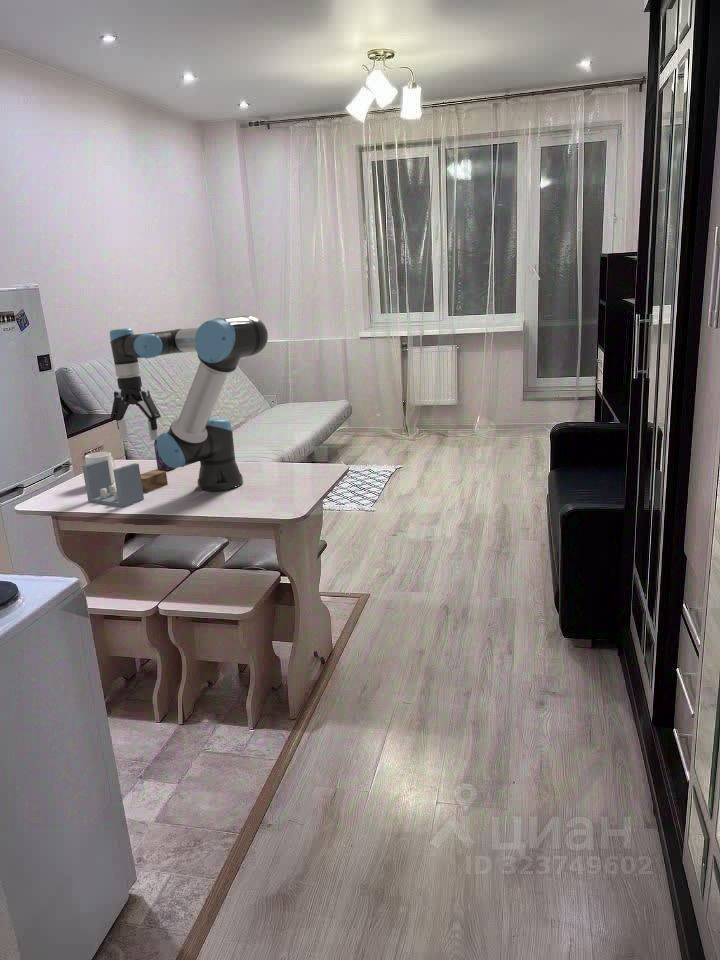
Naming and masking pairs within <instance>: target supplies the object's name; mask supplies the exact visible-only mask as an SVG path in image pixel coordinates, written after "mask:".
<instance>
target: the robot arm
mask: <svg viewBox="0 0 720 960" xmlns="http://www.w3.org/2000/svg"><path fill="white" fill-rule="evenodd" d="M268 338H269V333H268V329H267V327H266V325H265V324H264V323H263V321H262V320H261V319H259V318H258V317H255V316H252V315H240V316H233V317H226V318H223V317H217V318H213V319H210V320H206V321H204V322H203V323H201V324H200V326H198V327H191V328H190V327H187V328H177V329H171V330H165V331H155V332H153V331H152V332H146V333H145V332H144V333H137V334H135V332H134V330H133V328H131V327H127V328H126V327H125V328H124V327H123V328H116V329H110V331H109V339H110V348H111V352H112V358H113V362H114V369H115V377H117V379H116V380H117V386H118V390H116V391H113V403H112V409H111V413H110V417H111V419H114V420H115V421H116V427H117V429H118V432H119V437H120V438H119V439H120V440H125V439H129V436H128V428H127V423H126V419H125V414H126V412H127V409H128V408H129V406H130V405H135V406H136V407H138V408H139V409H140V410H141V412H143V415H145V417H146V418H147V419H148V420H147V426H148V432H149V433H148V434H149V438H150V439H149V440H150V441H155V439H157V449H158V452H159V455H160V457H161V459H162V460H163V461H164V463H165V464H166V465H168V466H169V467H171V468H174V469H177V468H184V467H186V466H189V465H192V464H195V463H198V462H200V464H199V465H200V467H199V472H198V478H197V482H196V483H197V489H199V490H200V491H205V492H220V491H222V490H223V491H227V490H226V489H229V488H233V487H235V486H238V485H240V484H242V483H243V484H244V478H243V474H242V473H241V472H240V469H239V466H238V463H237V461H236V455H235V454H236V453H235V444H234V436H233V433H234V432H233V428H232V423H231V420H230V419H227V418H224V417H223V418H222V417H211V416H212V413H213V411H214V408H215V406H216V403H217V401H218V398H219V397H220V394H221V391H222V390H223V387H224V384H225V381H226V379H227V376H228V375H229V374H231V373H234V372H235V370H237V366H238V364H239V362H240V359H242V358H245V357H251V356H255V355H257V354H259V353H260V352H261V351H262V350H264V348H265V347H266V345H267V343H268V341H269V340H268ZM191 352H192V353H193V352H196V354H197V358H198V360H199V365H198V367H197V368H196V369H197V370H196V372H195V375H194V377H193V380H192V382H191V385H190V387H189V390H188V392H187V396H186V398H185V401H184V404H183V406H182V408H181V412H180V413H179V417H177V418H174V419H173V421H172V422H171V424H170V426H169V429H168V431H167V432H162V433H160V434H159V435H158V431H157V430H158V424H157V423H158V422H157V419H160V418H161V413H160V411H159V410H158V408H157V406H156V404H155V402H154V401H153V398H152V397H151V393H150V390H149V389H147V390H146V389H145V390H142V389H141V388H142V387H143V382H142V377H141V375H140V372H141V371H140V366H139V359H151V358H152V359H153V358H156V357H159V356H165V355H170V354H171V355H172V354H181V353H191ZM243 484H242V485H243ZM240 486H241V485H240ZM238 487H239V486H238ZM233 489H234V488H233ZM229 490H230V489H229Z"/></svg>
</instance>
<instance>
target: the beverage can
mask: <svg viewBox="0 0 720 960" xmlns="http://www.w3.org/2000/svg"><path fill="white" fill-rule="evenodd" d="M153 445H154V454H155V459H156V465H157V466H156V467H157V470H159V471H171V470H173V469H175V468H171V467H169V466H168V465H166V464H165V463H164V461H163V460H162V459H161V457H160V455H159V452H158V449H157V439H155V440H154V442H153Z"/></svg>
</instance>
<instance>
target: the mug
mask: <svg viewBox="0 0 720 960" xmlns="http://www.w3.org/2000/svg"><path fill="white" fill-rule="evenodd" d="M84 457H85V458H84V459H85V465H87V464H90V463H94V462H97V461H100V460H108V466H109V472H110V478H111V484H112V485H114V483H115V478H114V472H113V470H115V469H116V463H115V458H114V457H113V456H112V453H111V452H109V451H98V452H91V453H88V454H86V455H85V456H84Z"/></svg>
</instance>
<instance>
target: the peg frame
mask: <svg viewBox="0 0 720 960" xmlns="http://www.w3.org/2000/svg"><path fill="white" fill-rule="evenodd" d="M81 468H82V474H83V478H84V484H85V490H86V495H87V501H88V502H92V503H95V504H96V503H97V504H103V505H108V506H116V507H121V508H125V507H127V506H130V505H133V504H136V503H138V502H141V501H143V500H145V498H144V497H145V496H144V492H143V489H142V482H141V476H140V475H141V468H140V464H139V463H137V462H136V463H135V462H134V463H132V464H128V465H125V466H124V465H123V466H121V467H119V468H118V467H117V468H115V470H113V472H114V478H115V482H114V483H115V485H114V484H111V478H110V472H109V466H108V460H100V461H97V462H94V463H90V464H87V465H86V464H84V465H82V467H81Z"/></svg>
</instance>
